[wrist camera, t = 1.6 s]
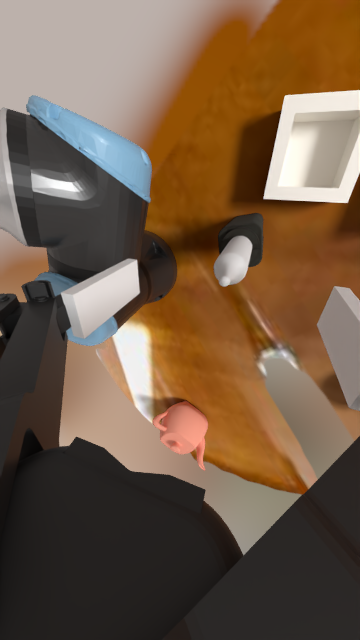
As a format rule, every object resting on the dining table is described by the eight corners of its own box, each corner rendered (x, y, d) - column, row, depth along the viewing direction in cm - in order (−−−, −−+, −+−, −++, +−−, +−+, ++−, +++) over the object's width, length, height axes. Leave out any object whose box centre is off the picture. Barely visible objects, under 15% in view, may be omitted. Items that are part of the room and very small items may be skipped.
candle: (230, 217, 36) (186, 252, 16) (263, 211, 34) (259, 243, 14) (233, 248, 38) (196, 313, 18) (263, 244, 36) (260, 312, 16)
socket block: (263, 197, 33) (263, 198, 29) (282, 109, 28) (284, 95, 24) (336, 201, 30) (347, 203, 26) (372, 104, 25) (393, 87, 21)
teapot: (200, 437, 72) (190, 476, 62) (155, 402, 70) (137, 436, 61) (227, 426, 64) (220, 468, 54) (177, 385, 63) (160, 422, 53)
